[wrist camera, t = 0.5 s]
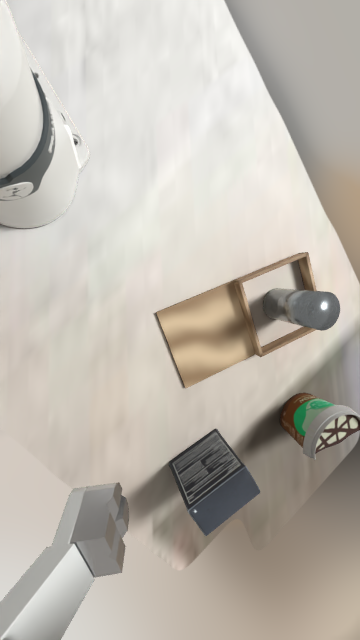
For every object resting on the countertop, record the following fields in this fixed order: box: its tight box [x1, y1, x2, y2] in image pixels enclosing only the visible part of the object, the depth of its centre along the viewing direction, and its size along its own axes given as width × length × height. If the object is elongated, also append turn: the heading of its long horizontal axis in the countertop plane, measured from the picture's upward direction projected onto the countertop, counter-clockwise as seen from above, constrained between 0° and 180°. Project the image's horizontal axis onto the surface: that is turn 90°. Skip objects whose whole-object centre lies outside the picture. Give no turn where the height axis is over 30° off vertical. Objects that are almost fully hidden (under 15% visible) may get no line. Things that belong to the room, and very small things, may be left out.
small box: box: [169, 429, 260, 536], centre depth 44 cm, size 11×6×10 cm, turn 119°
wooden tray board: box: [156, 252, 317, 388], centre depth 46 cm, size 14×28×2 cm, turn 110°
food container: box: [280, 393, 360, 460], centre depth 49 cm, size 12×6×10 cm, turn 106°
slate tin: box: [263, 288, 340, 330], centre depth 43 cm, size 6×6×11 cm
